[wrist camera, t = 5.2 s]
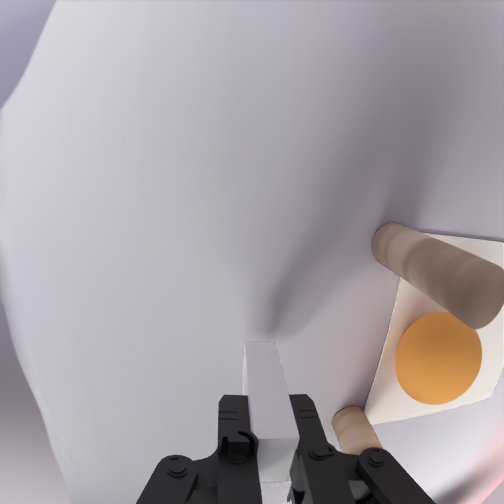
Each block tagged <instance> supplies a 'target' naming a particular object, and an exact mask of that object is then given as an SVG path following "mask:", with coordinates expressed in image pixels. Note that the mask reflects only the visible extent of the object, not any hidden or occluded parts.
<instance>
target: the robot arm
mask: <svg viewBox="0 0 504 504" xmlns="http://www.w3.org/2000/svg"><path fill="white" fill-rule="evenodd" d="M241 385H242V395H223V397H222V398H221V400H220V401H219V415H218V446H217V449H216V451H215V452H214V453H213V454H212V455H211V456H209V457H207V458H204V459H201V460H195V461H192V460H191V459H190V458H188V457H185V456H182V455H171V456H167V457H165V458H163V459H162V460H161V461H160V462H159V463H158V465H157V466H156V468H155V470H154V472H153V474H152V476H151V477H150V479H149V481H148V483H147V485H146V486H145V488H144V490H143V492H142V494H141V496H140V497H139V499H138V501H137V503H136V504H262V496H261V487H260V482H282V481H288V479H289V476H290V477H291V482H292V484H291V487H290V490H289V493H288V496H287V502H289V501H290V499H291V501H292V504H436V503H435V502H434V501H433V500H432V499H431V498H430V497H429V496H428V495H427V494H426V493H425V492H424V490H423V489H422V488H421V487H420V486H419V485H418V484H417V483H416V482H415V481H414V479H413V478H412V477H411V476H410V475H409V474H408V473H407V472H406V471H405V470H404V468H403V467H402V466H401V465H400V464H399V463H398V462H397V461H396V459H395V458H394V457H393V456H392V455H391V454H390V453H389V452H388V451H386V450H384V449H382V448H378V447H371V448H367V449H365V450H363V451H362V452H361V454H360V455H355V454H346V453H342V452H339V451H337V450H336V449H335V447H334V446H332V445H331V444H330V443H328V441H327V439H326V436H325V433H324V430H323V427H322V425H321V422H320V419H319V416H318V413H317V411H316V407H315V404H314V402H313V400H312V399H311V398H310V397H309V396H308V395H307V394H295V395H289V394H288V390H287V386H286V382H285V379H284V375H283V371H282V367H281V363H280V359H279V355H278V352H277V348H276V344H275V342H253V341H245V344H244V358H243V371H242V384H241Z"/></svg>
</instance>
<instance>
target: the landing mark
mask: <svg viewBox="0 0 504 504" xmlns="http://www.w3.org/2000/svg"><path fill="white" fill-rule="evenodd" d="M424 234H426V235H429V236H431V237H434V238H436V239H439V240H441V241H443V242H446V243H448V244H451V245H453V246H455V247H458V248H460V249H462V250H465V251H467V252H469V253H472V254H474V255H476V256H479V257H481V258H483V259H485V260H488V261H490V262H492V263H494V264H496V265H499V266H500V267H502V268H503V269H504V242H498V241H490V240H482V239H473V238H465V237H456V236H448V235H439V234H429V233H424ZM436 312H448V311H447V310H446V309H444V308H443V307H441V306H440V305H439V304H437V303H436V302H435V301H433V300H432V299H431V298H429V297H428V296H426V295H425V294H424V293H422V292H421V291H419V290H418V289H417V288H415V287H414V286H412V285H411V284H410V283H408V282H407V281H405V280H404V279H403V278H401V277H400V280H399V285H398V290H397V294H396V299H395V303H394V308H393V312H392V316H391V320H390V324H389V328H388V332H387V336H386V339H385V343H384V347H383V350H382V354H381V357H380V361H379V364H378V368H377V371H376V374H375V377H374V380H373V384H372V387H371V390H370V393H369V396H368V399H367V402H366V405H365V407H364V410H363V411H364V412H365V414H366V416H367V418H368V420H369V422H370V424H371V425H374V424H380V423H387V422H393V421H398V420H404V419H409V418H414V417H419V416H423V415H428V414H432V413H437V412H441V411H445V410H449V409H453V408H457V407H460V406H464V405H468V404H471V403H475V402H478V401H481V400H484V399H488V398H490V397H491V395H492V393H493V391H494V389H495V387H496V384H497V382H498V380H499V378H500V376H501V373H502V371H503V369H504V304H503V306H502V308H501V310H500V312H499V313H498V315H497V316H496V317H495V319H494V320H493V321H492V322H491V323H489V324H488V325H487V326H485V327H483V328H480V329H475V330H476V332H477V333H478V336H479V338H480V341H481V346H482V363H481V367H480V370H479V373H478V375H477V377H476V379H475V381H474V383H473V384H472V385H471V387H470V388H469V389H468V390H467V391H466V392H465V393H464V394H462V395H461V396H460V397H458V398H457V399H455V400H453V401H451V402H448V403H444V404H439V405H429V404H424V403H421V402H418V401H416V400H414V399H413V398H411V397H410V396H409V395H408V394H407V393H406V392H405V391H404V390H403V389H402V387H401V386H400V384H399V381H398V379H397V376H396V372H395V354H396V349H397V346H398V344H399V341H400V339H401V337H402V336H403V334H404V333H405V331H406V330H407V329H408V328H409V327H410V326H411V325H412V324H413V323H414V322H415V321H417V320H418V319H420V318H421V317H424V316H426V315H428V314H432V313H436ZM449 313H450V312H449Z"/></svg>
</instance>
